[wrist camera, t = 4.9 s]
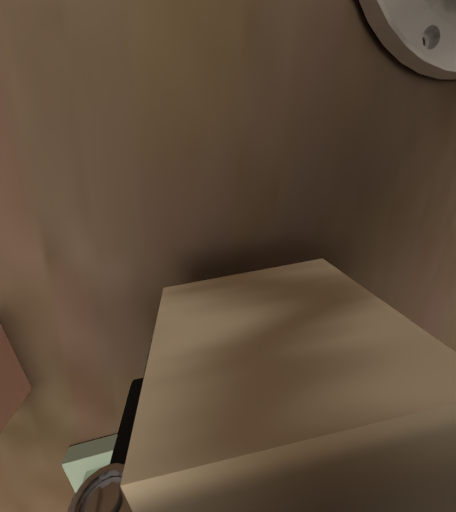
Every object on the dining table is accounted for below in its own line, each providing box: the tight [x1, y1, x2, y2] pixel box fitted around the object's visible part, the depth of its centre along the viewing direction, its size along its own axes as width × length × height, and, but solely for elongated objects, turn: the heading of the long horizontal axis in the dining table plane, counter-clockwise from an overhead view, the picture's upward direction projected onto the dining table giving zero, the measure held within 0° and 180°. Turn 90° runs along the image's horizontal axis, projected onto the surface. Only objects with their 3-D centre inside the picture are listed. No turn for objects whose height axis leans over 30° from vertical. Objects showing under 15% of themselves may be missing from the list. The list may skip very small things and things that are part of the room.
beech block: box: [120, 258, 456, 512], centre depth 8 cm, size 6×6×6 cm
